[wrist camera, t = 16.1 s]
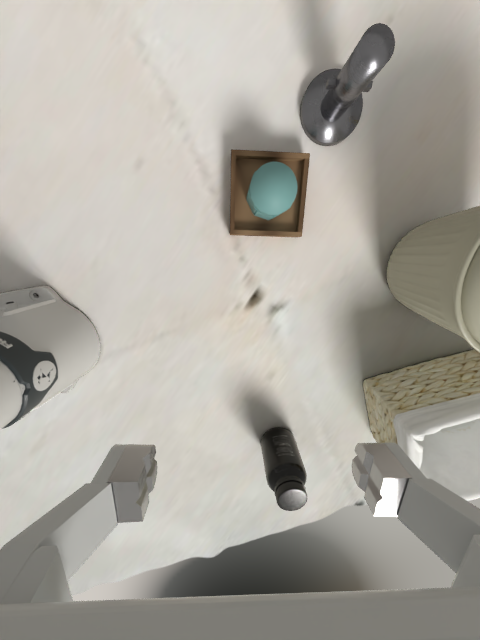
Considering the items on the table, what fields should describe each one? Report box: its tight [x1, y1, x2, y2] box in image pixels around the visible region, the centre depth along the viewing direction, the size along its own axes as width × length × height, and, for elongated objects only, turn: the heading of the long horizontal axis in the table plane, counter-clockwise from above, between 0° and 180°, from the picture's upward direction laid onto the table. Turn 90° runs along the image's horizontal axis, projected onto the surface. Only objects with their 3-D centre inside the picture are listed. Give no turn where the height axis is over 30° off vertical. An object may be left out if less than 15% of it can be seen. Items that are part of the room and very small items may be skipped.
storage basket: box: [363, 350, 480, 501], centre depth 39 cm, size 24×16×15 cm
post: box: [300, 23, 395, 146], centre depth 27 cm, size 8×8×11 cm
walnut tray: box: [230, 150, 310, 237], centre depth 34 cm, size 10×10×2 cm
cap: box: [246, 162, 297, 220], centre depth 32 cm, size 6×6×5 cm
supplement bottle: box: [261, 428, 307, 511], centre depth 43 cm, size 7×7×12 cm
